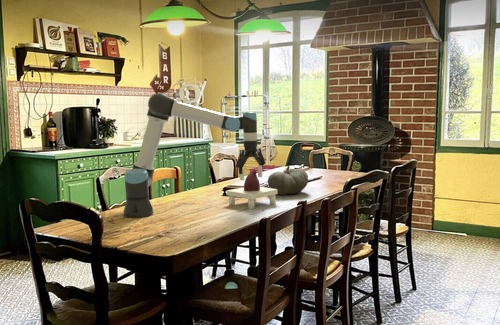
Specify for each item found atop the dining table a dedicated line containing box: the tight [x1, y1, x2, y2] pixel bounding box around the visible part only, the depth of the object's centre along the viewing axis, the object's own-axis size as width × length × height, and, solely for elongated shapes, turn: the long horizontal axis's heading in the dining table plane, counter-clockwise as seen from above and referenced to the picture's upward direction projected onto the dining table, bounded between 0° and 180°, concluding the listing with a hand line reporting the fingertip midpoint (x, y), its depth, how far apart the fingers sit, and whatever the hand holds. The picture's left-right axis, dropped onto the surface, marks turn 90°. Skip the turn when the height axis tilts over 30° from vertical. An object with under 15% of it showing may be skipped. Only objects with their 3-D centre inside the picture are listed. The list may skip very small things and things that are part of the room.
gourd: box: [267, 165, 309, 196], centre depth 300 cm, size 25×25×17 cm
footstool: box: [226, 186, 278, 210], centre depth 272 cm, size 20×20×8 cm
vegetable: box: [243, 168, 261, 191], centre depth 270 cm, size 10×9×14 cm
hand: (251, 178), depth 270 cm, fingers open, 13 cm apart
